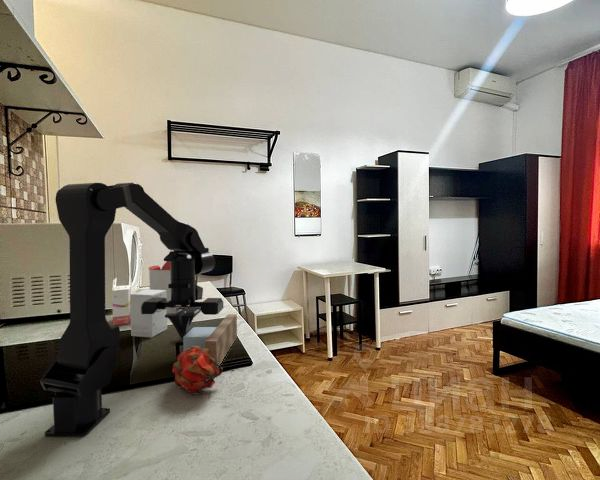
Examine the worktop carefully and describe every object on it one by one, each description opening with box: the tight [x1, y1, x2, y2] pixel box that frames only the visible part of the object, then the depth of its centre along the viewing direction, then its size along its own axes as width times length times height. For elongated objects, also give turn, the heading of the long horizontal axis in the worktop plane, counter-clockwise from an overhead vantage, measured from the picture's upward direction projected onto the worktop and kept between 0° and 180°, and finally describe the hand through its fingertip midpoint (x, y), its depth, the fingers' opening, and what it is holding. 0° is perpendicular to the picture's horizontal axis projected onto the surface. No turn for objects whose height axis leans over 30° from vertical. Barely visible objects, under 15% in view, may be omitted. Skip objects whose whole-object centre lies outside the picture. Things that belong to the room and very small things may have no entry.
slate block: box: [182, 326, 218, 352], centre depth 75 cm, size 7×7×6 cm
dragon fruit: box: [171, 346, 224, 396], centre depth 61 cm, size 8×8×12 cm
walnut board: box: [205, 313, 238, 368], centre depth 77 cm, size 20×2×7 cm, turn 179°
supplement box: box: [130, 289, 168, 338], centre depth 91 cm, size 7×7×13 cm
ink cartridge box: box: [111, 277, 132, 326], centre depth 103 cm, size 9×5×15 cm, turn 25°
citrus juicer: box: [148, 261, 189, 306], centre depth 117 cm, size 16×17×20 cm
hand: (184, 339), depth 75 cm, fingers closed
